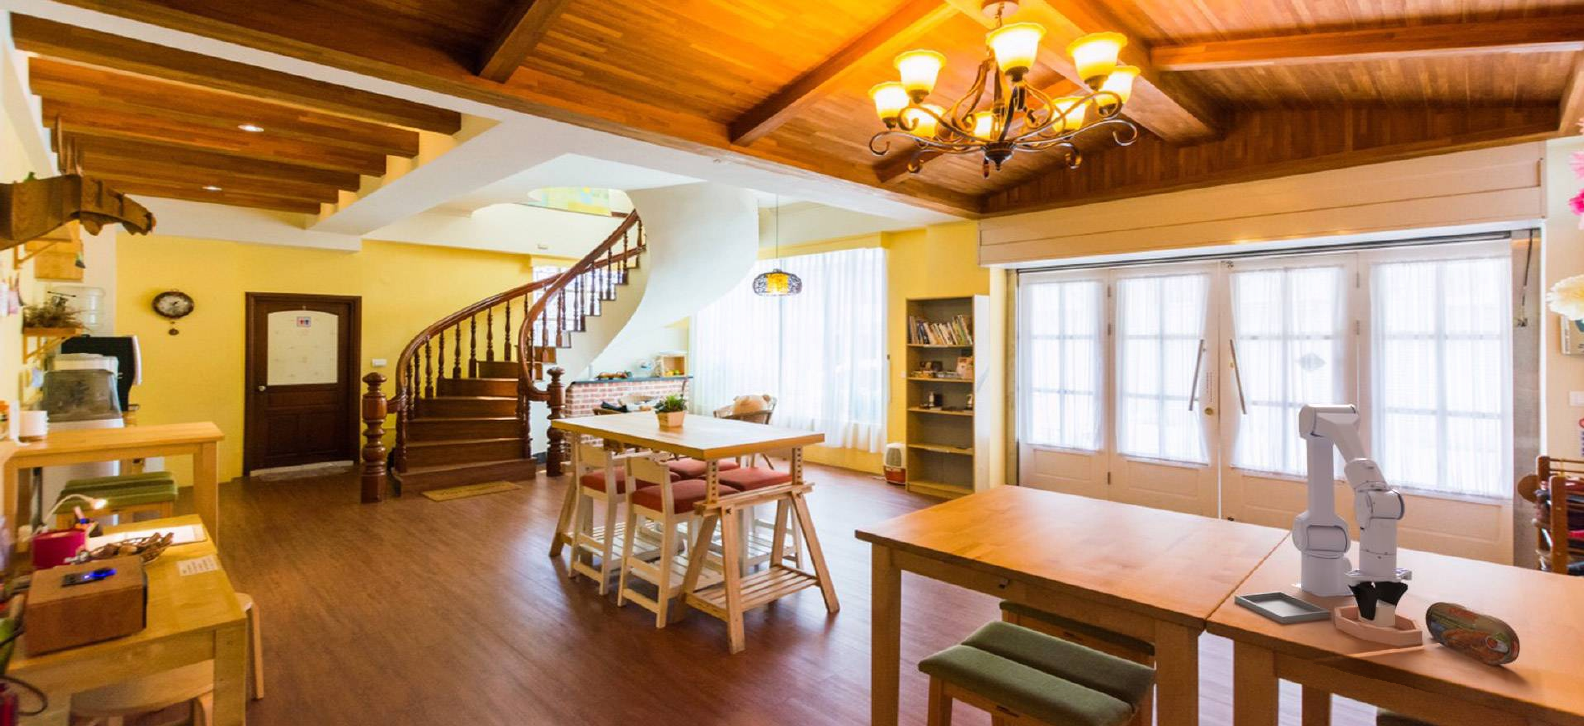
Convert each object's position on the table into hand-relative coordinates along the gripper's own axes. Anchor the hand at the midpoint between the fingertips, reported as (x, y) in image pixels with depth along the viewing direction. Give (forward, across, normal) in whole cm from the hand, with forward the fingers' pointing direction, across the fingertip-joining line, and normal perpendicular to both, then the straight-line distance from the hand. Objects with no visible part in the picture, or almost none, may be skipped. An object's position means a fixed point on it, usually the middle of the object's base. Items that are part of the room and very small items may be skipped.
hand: (1376, 617), depth 140 cm
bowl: (+3, 0, 0) cm, 3 cm away
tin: (+3, +8, -11) cm, 14 cm away
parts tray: (+3, -9, +13) cm, 16 cm away
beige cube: (+1, 0, 0) cm, 1 cm away
